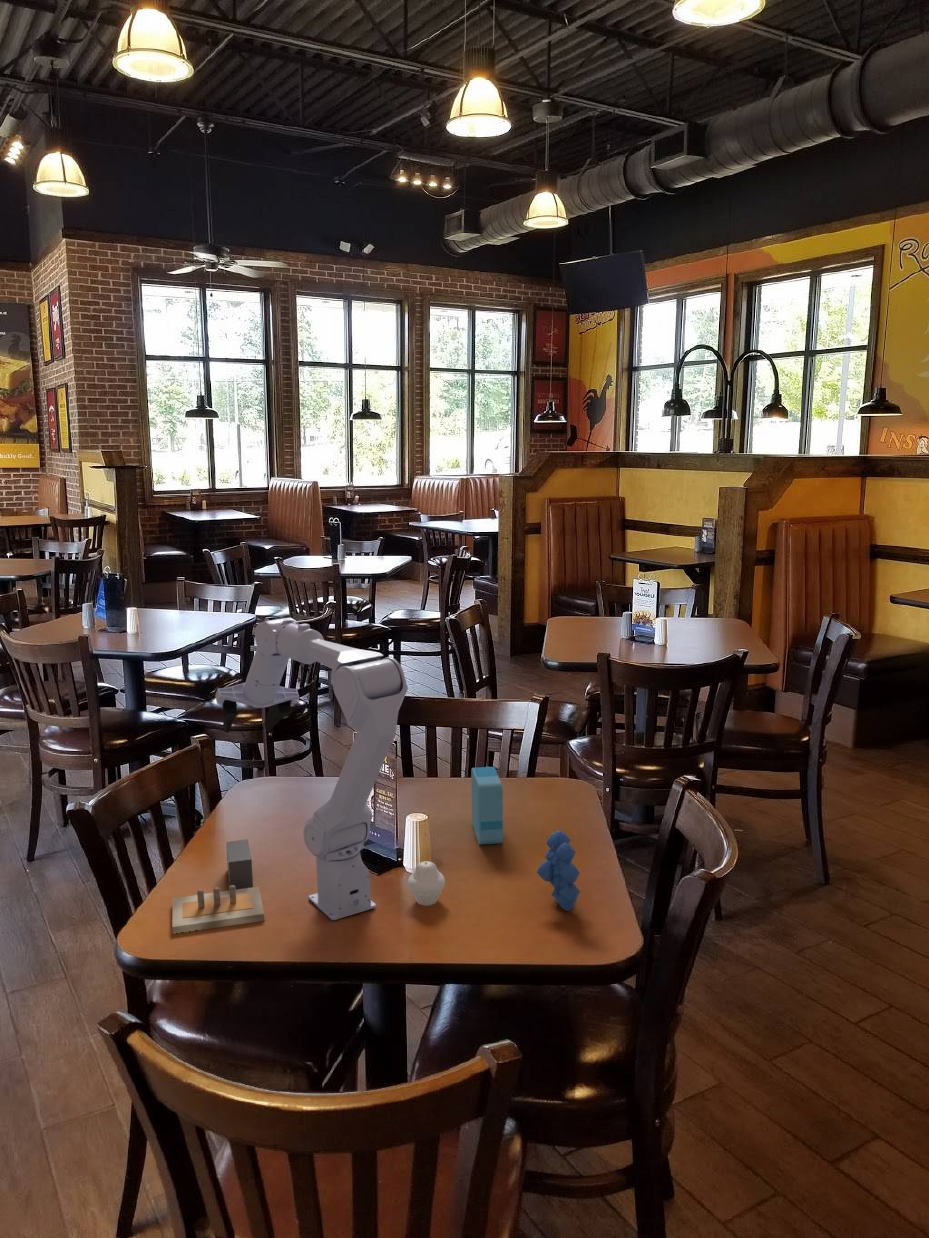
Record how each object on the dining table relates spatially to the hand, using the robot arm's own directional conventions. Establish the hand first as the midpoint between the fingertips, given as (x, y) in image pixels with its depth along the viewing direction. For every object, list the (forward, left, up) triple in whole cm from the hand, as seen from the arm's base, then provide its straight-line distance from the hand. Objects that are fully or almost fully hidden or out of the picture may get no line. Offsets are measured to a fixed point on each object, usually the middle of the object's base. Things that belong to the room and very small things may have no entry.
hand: (246, 728), depth 173 cm
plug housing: (-9, +6, -24) cm, 26 cm away
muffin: (-35, -16, -24) cm, 46 cm away
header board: (-19, +14, -24) cm, 34 cm away
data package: (-18, -40, -24) cm, 51 cm away
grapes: (-48, -33, -24) cm, 63 cm away
